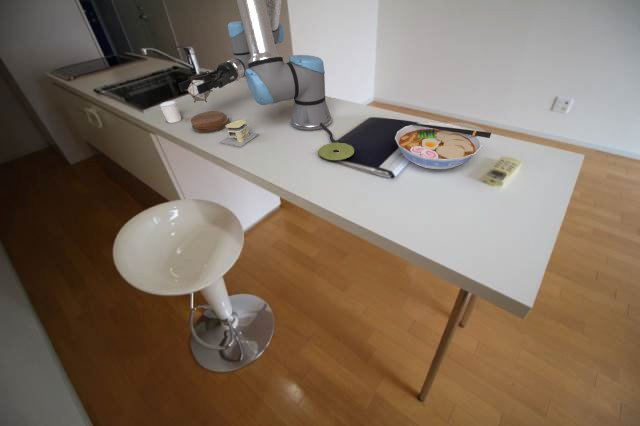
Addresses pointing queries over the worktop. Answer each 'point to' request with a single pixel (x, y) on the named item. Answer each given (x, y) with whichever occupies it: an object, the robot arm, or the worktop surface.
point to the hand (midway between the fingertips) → (189, 88)
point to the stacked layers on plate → (238, 133)
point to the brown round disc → (209, 122)
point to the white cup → (171, 111)
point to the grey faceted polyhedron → (194, 91)
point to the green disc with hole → (329, 149)
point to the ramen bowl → (438, 144)
